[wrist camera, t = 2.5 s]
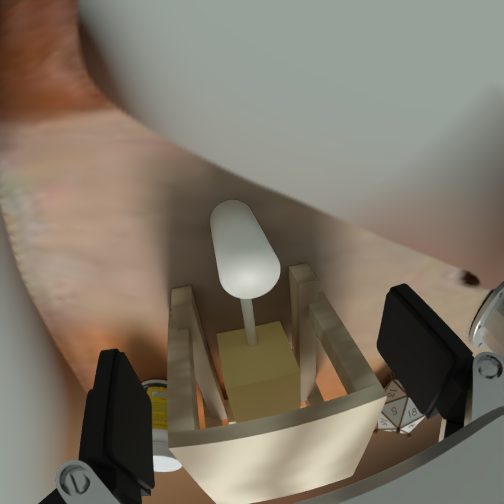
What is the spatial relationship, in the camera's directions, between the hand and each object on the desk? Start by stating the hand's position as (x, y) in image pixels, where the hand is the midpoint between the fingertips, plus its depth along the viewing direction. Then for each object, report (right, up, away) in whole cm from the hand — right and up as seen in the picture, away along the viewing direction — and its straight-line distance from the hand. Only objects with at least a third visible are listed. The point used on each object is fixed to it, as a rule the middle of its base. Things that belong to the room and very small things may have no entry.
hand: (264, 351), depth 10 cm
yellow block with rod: (-1, 0, +14) cm, 14 cm away
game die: (+18, -14, +26) cm, 34 cm away
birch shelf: (0, -6, +17) cm, 19 cm away
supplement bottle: (-10, -11, +18) cm, 23 cm away
